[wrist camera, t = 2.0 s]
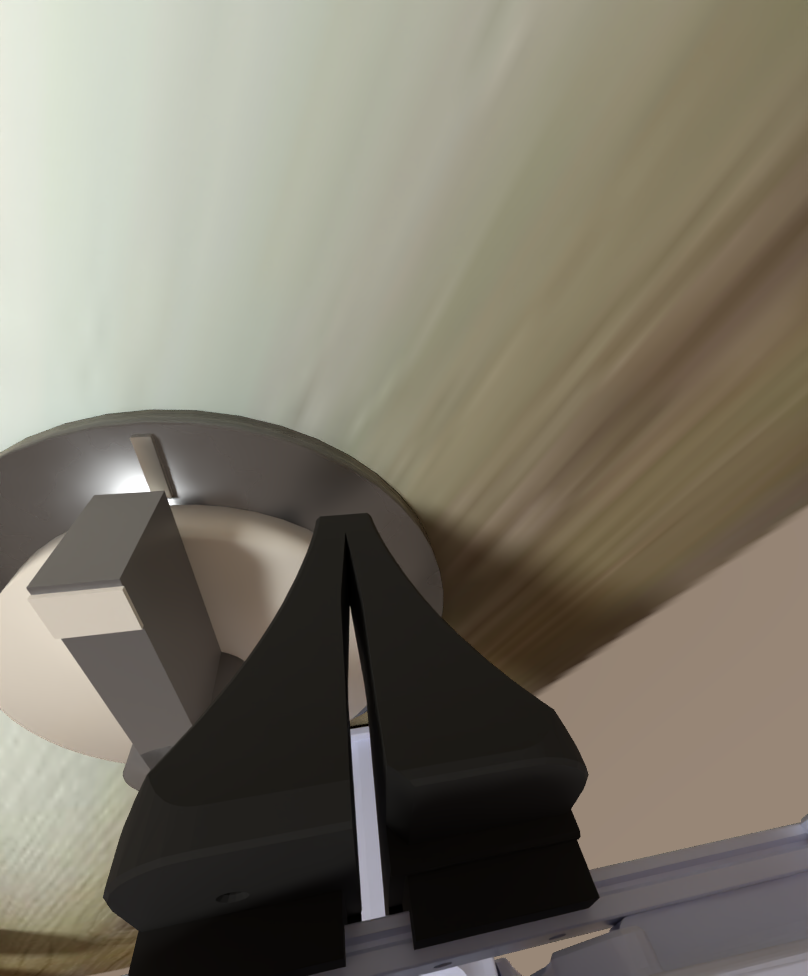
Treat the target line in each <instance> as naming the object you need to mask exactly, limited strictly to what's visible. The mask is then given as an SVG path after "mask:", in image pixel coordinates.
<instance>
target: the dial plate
mask: <svg viewBox="0 0 808 976" xmlns="http://www.w3.org/2000/svg"><path fill="white" fill-rule="evenodd" d="M163 490H164V491H165V493H166V496H167V499H168V502H169V505H208V506H222V507H230V508H236V509H242V510H248V511H253V512H258V513H261V514H265V515H269V516H272V517H276V518H279V519H283V520H285V521H288V522H290V523H293V524H296V525H298V526H301V527H303V528H306V529H308V530H310V531H312V532H314V528H315V523H316V520H317V519H318V518H319V517H320V516H332V515H345V514H358V513H368V514H369V515H371V517H372V519H373V522H374V524H375V526H376V528H377V530H378V532H379V534H380V536H381V538H382V539H383V541H384V543H385V545H386V546H387V548H388V550H389V551H390V553H391V554H392V556H393V557H394V559H395V560H396V562H397V563H398V565H399V566H400V568H401V569H402V570H403V572H404V573H405V575H406V576H407V577H408V579H409V580H410V581H411V582H412V584H413V585H414V586H415V588H416V589H417V590H418V591H419V593H420V594H421V595H422V596H423V597H424V599H425V600H426V601H427V602H428V603H429V604H430V605H431V607H432V608H433V609H434V610H435V611H436V612H437V613H438V614H439V615H440V616H441V617H442V612H443V587H442V581H441V575H440V570H439V567H438V564H437V561H436V558H435V555H434V552H433V549H432V547H431V544H430V541H429V539H428V536H427V533H426V532H425V530H424V528H423V527H422V525H421V523H420V522H419V520H418V518H417V516H416V515H415V513H414V512H413V511H412V509H411V508H410V507H409V506H408V505H407V503H406V502H405V501H404V500H403V499H402V497H401V496H400V495H399V494H398V493H397V492H396V491H395V490H394V489H393V488H392V487H391V486H390V485H388V484H387V483H386V482H385V481H384V480H383V479H382V478H381V477H379V476H378V475H377V474H376V473H375V472H373V471H372V470H370V469H369V468H367V467H366V466H364V465H363V464H361V463H360V462H358V461H357V460H355V459H354V458H352V457H351V456H349V455H348V454H346V453H344V452H342V451H340V450H338V449H336V448H334V447H332V446H330V445H328V444H326V443H324V442H322V441H320V440H318V439H315V438H313V437H310V436H307V435H304V434H302V433H299V432H296V431H293V430H291V429H288V428H285V427H282V426H280V425H275V424H271V423H267V422H263V421H259V420H255V419H250V418H246V417H242V416H237V415H229V414H221V413H213V412H205V411H197V410H143V411H133V412H123V413H112V414H105V415H101V416H96V417H92V418H87V419H83V420H78V421H74V422H69V423H65V424H62V425H60V426H57V427H54V428H52V429H49V430H46V431H43V432H41V433H38V434H35V435H33V436H30V437H27V438H25V439H24V440H22V441H20V442H18V443H16V444H15V445H13V446H11V447H9V448H7V449H6V450H4V451H2V452H0V593H1V592H2V590H3V589H4V588H5V586H6V585H7V584H8V583H9V581H10V580H11V579H12V578H13V576H14V575H15V574H16V573H17V571H18V570H19V569H20V567H21V566H22V565H23V564H24V563H25V562H26V561H27V560H28V559H29V558H30V557H31V556H32V555H33V554H34V553H35V552H36V551H37V550H39V549H40V548H41V547H43V546H44V545H46V544H47V543H48V542H50V541H51V540H52V539H54V538H55V537H57V536H59V535H61V534H63V533H65V532H67V531H68V530H69V529H70V527H71V526H72V524H73V523H74V522H75V520H76V519H77V518H78V516H79V515H80V514H81V512H82V511H83V509H84V508H85V507H86V505H87V504H88V503H89V501H90V500H91V499H92V497H93V496H94V495H104V494H118V493H133V492H148V491H163ZM0 710H1V709H0ZM366 711H367V705H366V706H365V707H364V708H363V709H362V710H361V711H360V712H359V713H358V714H357V715H356V716H355V717H357V716H359V715H361V714H363V713H365V712H366ZM355 717H354V718H355ZM352 719H353V718H352Z"/></svg>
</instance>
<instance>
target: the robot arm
mask: <svg viewBox="0 0 808 976" xmlns="http://www.w3.org/2000/svg"><path fill="white" fill-rule="evenodd" d="M350 609H351V614H352V620H353V626H354V631H355V637H356V642H357V647H358V653H359V658H360V664H361V669H362V675H363V680H364V687H365V694H366V701H367V712H368V723H369V726H366V727H359V728H353V729H350V719H349V703H348V671H349V625H350ZM587 777H588V772H587V768H586V766H585V763H584V761H583V759H582V757H581V755H580V752H579V750H578V749H577V746H576V745H575V743H574V741H573V740H572V738H571V736H570V735H569V733H568V731H567V729H566V728H565V726H564V725H563V723H562V722H561V720H560V718H559V717H558V715H557V714H556V712H555V711H554V709H552V708H550V707H549V706H548V705H546V704H545V703H543V702H542V701H540V700H539V699H538V698H536V697H535V696H533V695H532V694H531V693H529V692H528V691H526V690H525V689H524V688H522V687H521V686H520V685H518V684H517V683H516V682H514V681H513V680H512V679H510V678H509V677H508V676H506V675H505V674H504V673H503V672H501V671H500V670H499V669H498V668H496V667H495V666H494V665H493V664H491V663H490V662H489V661H488V660H487V659H486V658H484V657H483V656H482V655H481V654H480V653H479V652H478V651H476V650H475V649H474V648H473V647H472V646H471V645H470V644H469V643H467V642H466V641H465V640H464V639H463V638H462V637H461V636H460V635H459V634H457V633H456V632H455V631H454V630H453V629H452V628H451V627H450V626H449V625H448V624H447V623H446V622H445V621H444V620H443V619H442V617H441V616H440V615H439V614H438V613H437V612H436V611H435V610H434V609H433V608H432V607H431V605H430V604H429V603H428V602H427V601H426V600H425V599H424V597H423V596H422V595H421V594H420V593H419V591H418V590H417V589H416V588H415V586H414V585H413V584H412V582H411V581H410V580H409V579H408V577H407V576H406V575H405V573H404V572H403V570H402V569H401V568H400V566H399V565H398V563H397V562H396V560H395V559H394V557H393V556H392V554H391V553H390V551H389V550H388V548H387V546H386V545H385V543H384V541H383V539H382V538H381V536H380V534H379V532H378V530H377V528H376V526H375V524H374V522H373V519H372V517H371V515H369V514H368V513H358V514H345V515H332V516H320V517H319V518H318V519H317V520H316V523H315V528H314V532H313V536H312V539H311V542H310V545H309V547H308V550H307V553H306V555H305V557H304V560H303V562H302V564H301V567H300V569H299V571H298V574H297V576H296V578H295V580H294V582H293V584H292V586H291V588H290V590H289V591H288V593H287V595H286V597H285V599H284V601H283V603H282V605H281V607H280V608H279V610H278V612H277V613H276V615H275V617H274V619H273V620H272V622H271V623H270V625H269V627H268V628H267V630H266V631H265V633H264V634H263V636H262V637H261V639H260V641H259V642H258V643H257V645H256V646H255V648H254V649H253V650H252V652H251V653H250V655H249V656H248V658H247V659H246V660H245V662H244V663H243V665H242V666H241V667H240V669H239V670H238V671H237V673H236V674H235V675H234V676H233V678H232V679H231V680H230V682H229V683H228V684H227V685H226V686H225V688H224V689H223V690H222V691H221V692H220V694H219V695H218V696H217V697H216V699H215V700H214V701H213V702H212V703H211V705H210V706H209V707H208V708H207V709H206V711H205V712H204V713H203V714H202V715H201V717H200V718H199V719H198V720H197V721H196V722H195V723H194V725H193V726H192V727H191V728H190V729H189V730H188V731H187V732H186V733H185V734H184V735H183V736H182V737H181V738H180V740H179V741H178V742H177V743H176V744H175V745H174V746H173V747H172V748H171V749H170V750H169V751H168V752H167V753H166V754H165V756H164V757H163V758H162V759H161V760H160V761H159V762H158V763H157V764H156V765H155V766H154V767H153V768H152V769H151V770H150V771H149V772H148V774H147V775H146V777H145V779H144V781H143V783H142V786H141V788H140V790H139V792H138V794H137V796H136V799H135V801H134V803H133V806H132V808H131V811H130V813H129V816H128V818H127V820H126V822H125V825H124V827H123V830H122V833H121V836H120V839H119V842H118V846H117V849H116V852H115V856H114V859H113V863H112V866H111V870H110V873H109V877H108V880H107V883H106V887H105V891H104V895H103V898H104V900H105V901H106V903H107V905H108V906H109V907H110V909H111V910H112V911H113V912H114V913H115V914H117V915H118V916H119V917H121V918H122V919H123V920H125V921H126V922H128V923H129V924H130V925H132V926H133V927H134V928H136V929H137V930H138V931H139V932H138V936H137V940H136V944H135V948H134V953H133V957H132V961H131V965H130V970H129V974H126V975H122V976H522V975H521V974H520V973H519V972H518V971H517V970H515V968H513V967H512V965H511V964H510V962H509V961H508V960H507V959H506V958H500V959H497V960H494V957H496V956H500V955H503V954H507V953H512V952H516V951H520V950H523V949H528V948H532V947H536V946H540V945H544V944H548V943H552V942H556V941H559V940H563V939H568V938H572V937H576V936H579V935H584V934H588V933H591V932H596V931H600V930H604V929H607V928H611V929H610V932H609V933H606V934H604V935H601V936H598V937H595V938H592V939H590V940H587V941H584V942H581V943H579V944H576V945H573V946H570V947H568V948H565V949H562V950H559V951H557V952H554V953H553V954H552V957H551V961H550V963H549V964H548V965H547V966H546V967H544V968H542V969H541V970H539V971H537V972H536V973H534V974H532V975H530V976H808V814H807V815H806V816H805V817H803V818H802V820H801V822H800V823H796V824H791V825H787V826H782V827H778V828H774V829H770V830H765V831H760V832H756V833H751V834H747V835H743V836H738V837H734V838H729V839H725V840H721V841H716V842H712V843H707V844H703V845H698V846H694V847H689V848H685V849H680V850H676V851H672V852H667V853H663V854H659V855H654V856H650V857H645V858H641V859H636V860H632V861H628V862H623V863H618V864H614V865H610V866H605V867H601V868H596V869H592V870H589V869H588V867H587V864H586V862H585V859H584V857H583V854H582V852H581V849H580V847H579V844H578V842H577V839H579V838H580V830H579V827H578V825H577V823H576V820H575V818H574V815H573V813H572V811H571V808H572V807H573V805H574V803H575V802H576V800H577V799H578V797H579V795H580V794H581V792H582V791H583V789H584V786H585V784H586V781H587Z"/></svg>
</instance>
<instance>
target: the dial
mask: <svg viewBox="0 0 808 976" xmlns="http://www.w3.org/2000/svg"><path fill="white" fill-rule="evenodd" d="M312 536H313V532H312V531H310V530H308V529H306V528H303V527H301V526H298V525H296V524H293V523H290V522H288V521H285V520H283V519H279V518H276V517H272V516H269V515H265V514H261V513H258V512H253V511H248V510H242V509H236V508H230V507H222V506H208V505H169V502H168V499H167V496H166V493H165V491H164V490H163V491H148V492H133V493H118V494H104V495H94V496H93V497H92V499H91V500H90V501H89V503H88V504H87V505H86V507H85V508H84V509H83V511H82V512H81V514H80V515H79V516H78V518H77V519H76V520H75V522H74V523H73V524H72V526H71V527H70V529H69V530H68V531H67V532H65V533H63V534H61V535H59V536H57V537H55V538H54V539H52V540H51V541H50V542H48V543H47V544H46V545H44V546H43V547H41V548H40V549H39V550H37V551H36V552H35V553H34V554H33V555H32V556H31V557H30V558H29V559H28V560H27V561H26V562H25V563H24V564H23V565H22V566H21V567H20V569H19V570H18V571H17V573H16V574H15V575H14V576H13V578H12V579H11V580H10V581H9V583H8V584H7V585H6V586H5V588H4V589H3V590H2V592H1V593H0V709H1V710H2V711H3V712H4V713H5V714H6V715H7V716H9V717H10V718H11V719H12V720H13V721H15V722H16V723H18V724H19V725H21V726H22V727H24V728H25V729H27V730H28V731H30V732H32V733H34V734H36V735H37V736H39V737H41V738H43V739H45V740H47V741H49V742H52V743H54V744H56V745H59V746H61V747H64V748H66V749H69V750H72V751H75V752H78V753H82V754H85V755H88V756H92V757H96V758H100V759H104V760H108V761H113V762H119V763H125V764H126V765H125V768H124V771H123V777H124V780H125V782H126V783H127V784H128V785H129V786H131V787H132V788H134V789H136V790H138V791H139V790H140V788H141V786H142V783H143V781H144V779H145V777H146V775H147V774H148V772H149V771H150V770H151V769H152V768H153V767H154V766H155V765H156V764H157V763H158V762H159V761H160V760H161V759H162V758H163V757H164V756H165V754H166V753H167V752H168V751H169V750H170V749H171V748H172V747H173V746H174V745H175V744H176V743H177V742H178V741H179V740H180V738H181V737H182V736H183V735H184V734H185V733H186V732H187V731H188V730H189V729H190V728H191V727H192V726H193V725H194V723H195V722H196V721H197V720H198V719H199V718H200V717H201V715H202V714H203V713H204V712H205V711H206V709H207V708H208V707H209V706H210V705H211V703H212V702H213V701H214V700H215V699H216V697H217V696H218V695H219V694H220V692H221V691H222V690H223V689H224V688H225V686H226V685H227V684H228V683H229V682H230V680H231V679H232V678H233V676H234V675H235V674H236V673H237V671H238V670H239V669H240V667H241V666H242V665H243V663H244V662H245V660H246V659H247V658H248V656H249V655H250V653H251V652H252V650H253V649H254V648H255V646H256V645H257V643H258V642H259V641H260V639H261V637H262V636H263V634H264V633H265V631H266V630H267V628H268V627H269V625H270V623H271V622H272V620H273V619H274V617H275V615H276V613H277V612H278V610H279V608H280V607H281V605H282V603H283V601H284V599H285V597H286V595H287V593H288V591H289V590H290V588H291V586H292V584H293V582H294V580H295V578H296V576H297V574H298V571H299V569H300V567H301V564H302V562H303V560H304V557H305V555H306V553H307V550H308V547H309V545H310V542H311V539H312ZM348 703H349V719H350V720H351V719H352V718H354V717H355V716H356V715H357V714H358V713H359V712H360V711H361V710H362V709H363V708H364V707H365V706H366V705H367V701H366V694H365V687H364V680H363V675H362V669H361V664H360V658H359V653H358V647H357V642H356V637H355V631H354V626H353V620H352V614H351V609H350V625H349V671H348Z"/></svg>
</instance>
